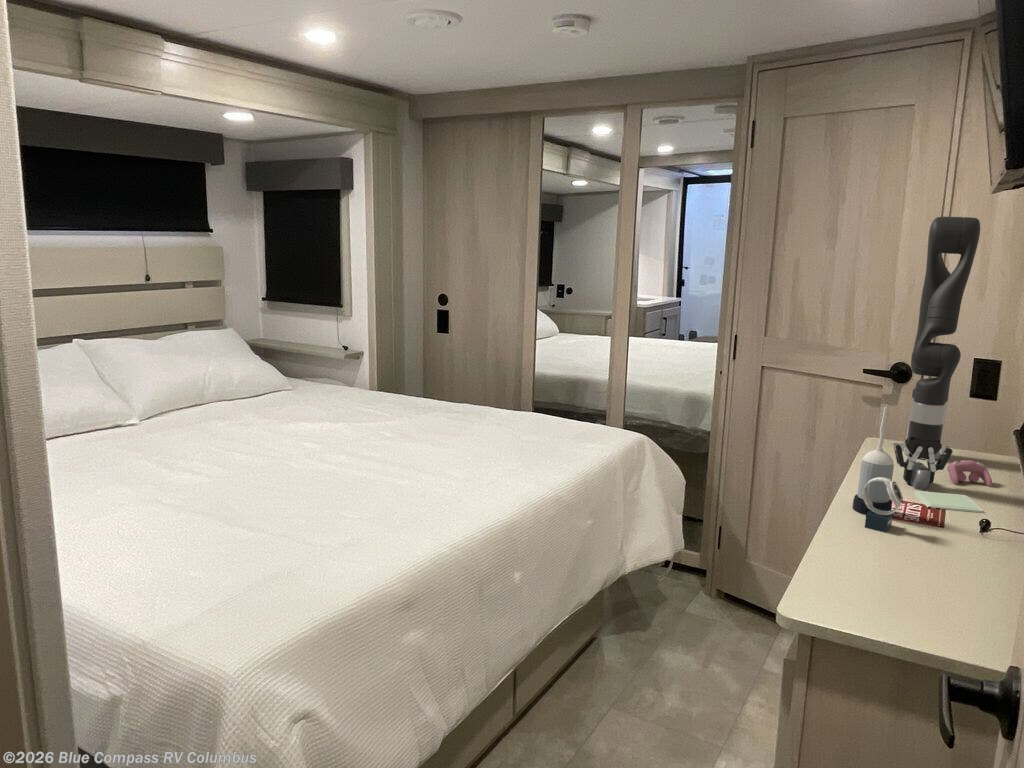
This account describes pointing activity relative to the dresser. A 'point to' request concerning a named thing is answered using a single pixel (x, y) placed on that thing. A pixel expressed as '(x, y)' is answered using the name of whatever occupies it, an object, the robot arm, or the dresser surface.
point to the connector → (920, 476)
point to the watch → (879, 517)
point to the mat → (948, 501)
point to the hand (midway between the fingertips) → (917, 483)
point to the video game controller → (970, 466)
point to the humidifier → (875, 476)
